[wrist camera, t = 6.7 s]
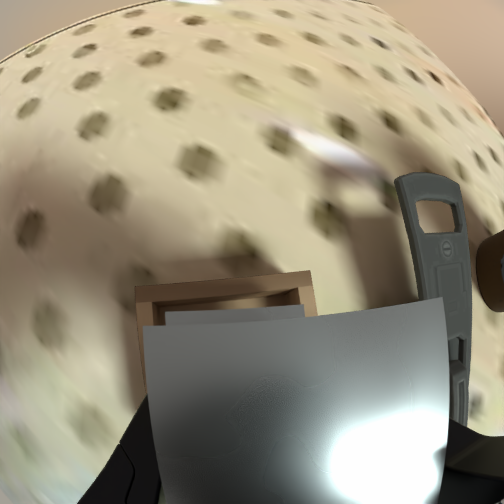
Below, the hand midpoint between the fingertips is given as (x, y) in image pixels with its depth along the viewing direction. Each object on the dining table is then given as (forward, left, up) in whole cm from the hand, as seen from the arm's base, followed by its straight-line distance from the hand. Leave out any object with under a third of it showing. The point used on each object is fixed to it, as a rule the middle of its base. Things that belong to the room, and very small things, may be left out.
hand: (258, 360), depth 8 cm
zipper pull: (-2, -17, -12) cm, 21 cm away
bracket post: (-1, 0, -7) cm, 7 cm away
